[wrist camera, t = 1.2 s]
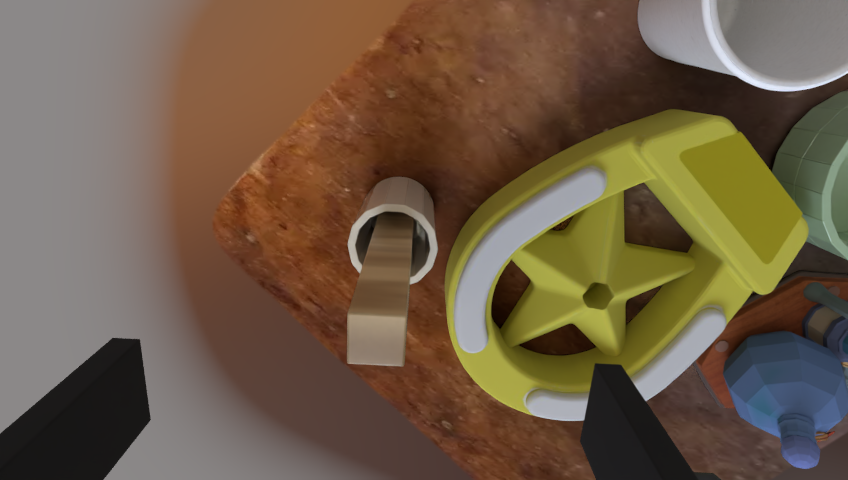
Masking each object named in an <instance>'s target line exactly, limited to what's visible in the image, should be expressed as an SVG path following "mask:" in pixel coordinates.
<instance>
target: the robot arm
mask: <svg viewBox="0 0 848 480" xmlns="http://www.w3.org/2000/svg"><path fill="white" fill-rule="evenodd" d="M150 420H151V419H150V412H149V404H148V397H147V390H146V382H145V375H144V367H143V360H142V352H141V345H140V340H139V339H122V338H112V339H111V340H110V341H109V342H108V343H106V344H105V345H104V346H103V347H102V348H100V349H99V350H98V351H97V352H96V353H95V354H93V355H92V356H91V357H90V358H89V359H88V360H86V361H85V362H84V363H83V364H82V365H80V366H79V367H78V368H77V369H76V370H75V371H73V372H72V373H71V374H70V375H69V376H68V377H66V378H65V379H64V380H63V381H62V382H60V384H58V385H57V386H56V387H55V388H54V389H52V390H51V391H50V392H49V393H48V394H46V395H45V396H44V397H43V398H42V399H41V400H39V401H38V402H37V403H36V404H35V405H33V406H32V407H31V408H30V409H29V410H28V411H26V412H25V413H24V414H23V415H22V416H20V417H19V418H18V419H17V420H16V421H15V422H14V423H12V424H11V425H10V426H9V427H8V428H6V429H5V430H4V431H3V432H2V433H1V434H0V480H103V479H104V478H105V477H106V476H107V474H108V473H109V472H110V471H111V469H112V468H113V467H114V466H115V464H116V463H117V462H118V460H119V459H120V458H121V457H122V455H123V454H124V453H125V452H126V450H127V449H128V448H129V447H130V445H131V444H132V443H133V441H134V440H135V439H136V438H137V436H138V435H139V434H140V433H141V431H142V430H143V429H144V427H145V426H146V425H147V424H148V422H149V421H150ZM580 442H581V445H582V447H583V449H584V452H585V454H586V456H587V459H588V461H589V464H590V466H591V468H592V471H593V473H594V475H595V478H596V480H721V479H720V478H718V477H717V476H716V475H715V474H714V473H697V472H693V471H692V469H691V468H690V466H689V465H688V463H687V462H686V461H685V459H684V458H683V456H682V455H681V453H680V452H679V450H678V449H677V447H676V446H675V444H674V443H673V441H672V440H671V438H670V437H669V435H668V434H667V432H666V431H665V429H664V428H663V426H662V425H661V423H660V422H659V420H658V419H657V417H656V416H655V414H654V413H653V411H652V410H651V408H650V407H649V405H648V404H647V403H646V401H645V400H644V398H643V397H642V395H641V394H640V392H639V391H638V389H637V388H636V386H635V385H634V383H633V382H632V380H631V379H630V377H629V376H628V374H627V373H626V371H625V370H624V368H623V367H622V365H618V364H599V363H595V365H594V371H593V376H592V381H591V387H590V392H589V397H588V402H587V408H586V413H585V418H584V423H583V429H582V434H581V439H580Z"/></svg>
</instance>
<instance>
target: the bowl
mask: <svg viewBox="0 0 848 480" xmlns="http://www.w3.org/2000/svg"><path fill="white" fill-rule="evenodd" d="M772 173H773V175H774V176H775V177H776V179H777V180H778V181H779V183H780V184H781V185H782V187H783V188H784V189H785V191H786V192H787V193H788V195H789V196H790V197H791V198H792V200H793V201H794V202H795V204H796V205H797V206H798V208H799V209H800V210H801V212H802V213H803V214H802V216H803V218H804V219H805V220H806V222H807V225H808V228H809V231H808V237H807V240H806V242H809V243H811V244H813V245H815V246H817V247H820V248H822V249H824V250H826V251H828V252H831V253H833V254H835V255H837V256H840V257H842V258H844V259H846V260H848V90H845V91H841V92H840V93H838V94H836V95H834V96H832V97H831V98H829V99H827V100H825V101H824V102H822V103H820V104H818V105H817V106H815V107H813V108H812V109H811V110H810V111H809V112H808V113H807V114H806V115H805V116H804V117H803V118H802V119H801V120H800V121H799V122H797V123H796V124H795V125H794V126H793V128H792V129H791V131H790V132H789V134H788V135H787V137H786V139H785V140H784V142H783V144H782V145H781V147H780V148H779V150H778V152H777V155H776V158H775V162H774V165H773V169H772Z"/></svg>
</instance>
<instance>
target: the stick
mask: <svg viewBox="0 0 848 480" xmlns="http://www.w3.org/2000/svg"><path fill="white" fill-rule="evenodd" d="M413 230H414V218H413V217H411V216H409V215H407V214H405V213H403V212H389V211H385V212H383V213H380V214H379V215H378V218H377V222H376V225H375V228H374V231H373V234H372V237H371V241H370V244H369V247H368V250H367V253H366V256H365V260H364V263H363V266H362V269H361V272H360V276H359V279H358V282H357V285H356V288H355V291H354V295H353V298H352V301H351V304H350V307H349V311H348V314H347V362H348V363H349V364H367V365H386V366H404V363H405V348H406V333H407V318H408V304H409V289H410V274H411V259H412V245H413Z"/></svg>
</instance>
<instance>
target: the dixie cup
mask: <svg viewBox="0 0 848 480" xmlns="http://www.w3.org/2000/svg"><path fill="white" fill-rule="evenodd" d="M638 26H639V30H640V33H641V36H642V38H643V40H644V41H645V43H646V44H647V46H648V47H649V48H650V49H651V50H652V51H653V52H654V53H656V54H657V55H659V56H661V57H663V58H665V59H669V60H673V61H675V62H679V63H683V64H687V65H693V66H697V67H701V68H705V69H709V70H713V71H717V72H721V73H725V74H729V75H733V76H737V77H738V78H740V79H742V80H743V81H745V82H747V83H749V84H751V85H754V86H756V87H759V88H763V89H767V90H773V91H799V90H806V89H810V88H814V87H818V86H821V85H824V84H827V83H829V82H831V81H834V80H836V79H838V78H840V77H842V76H844V75H845V74H847V73H848V0H640V1H639V6H638Z"/></svg>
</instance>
